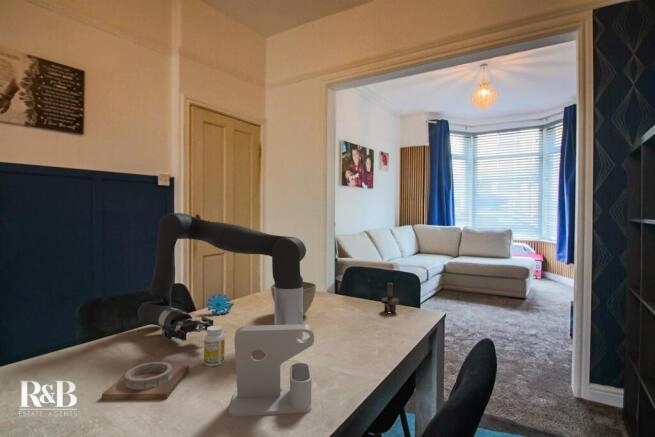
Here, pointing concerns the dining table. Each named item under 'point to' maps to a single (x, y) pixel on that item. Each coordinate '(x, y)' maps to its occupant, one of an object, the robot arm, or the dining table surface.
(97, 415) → the dining table surface
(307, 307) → the flower pot
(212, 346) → the supplement bottle
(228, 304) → the blue spiky rounded piece
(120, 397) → the walnut board
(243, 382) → the white tool holder stand
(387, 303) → the industrial component
